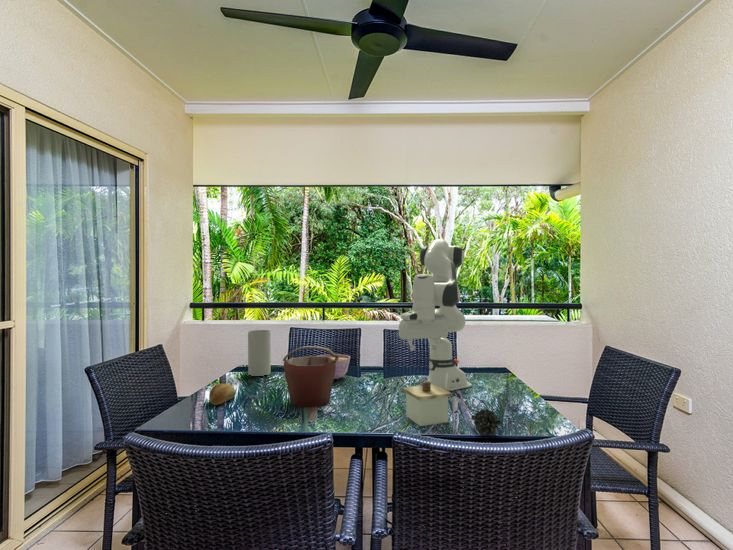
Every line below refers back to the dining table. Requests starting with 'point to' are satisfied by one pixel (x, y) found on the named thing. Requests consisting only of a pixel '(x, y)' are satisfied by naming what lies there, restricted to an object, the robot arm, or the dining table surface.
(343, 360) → the bowl of food
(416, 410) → the bin
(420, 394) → the lid
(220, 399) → the bread roll
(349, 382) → the dining table surface
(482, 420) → the pine cone
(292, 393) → the bucket
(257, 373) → the cylinder vase
